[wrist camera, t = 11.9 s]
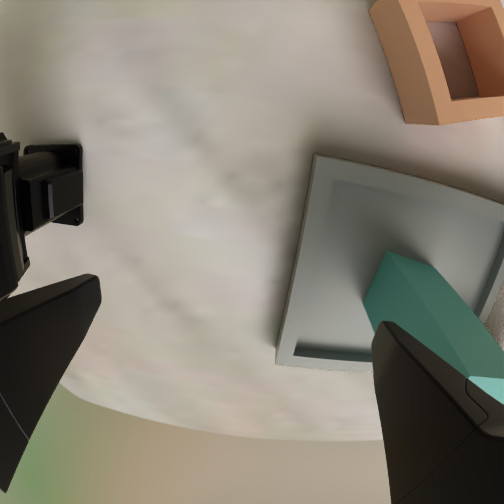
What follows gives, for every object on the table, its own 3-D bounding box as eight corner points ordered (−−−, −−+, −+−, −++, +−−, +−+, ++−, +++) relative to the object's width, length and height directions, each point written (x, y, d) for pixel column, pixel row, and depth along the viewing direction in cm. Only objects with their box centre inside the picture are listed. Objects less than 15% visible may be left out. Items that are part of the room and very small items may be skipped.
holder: (405, 123, 18) (439, 125, 13) (368, 11, 15) (390, -16, 10) (493, 110, 16) (533, 113, 12) (461, 9, 13) (496, -8, 9)
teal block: (362, 303, 22) (411, 442, 11) (386, 250, 21) (470, 375, 9) (408, 314, 22) (470, 439, 11) (433, 266, 21) (523, 380, 9)
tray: (275, 348, 26) (275, 364, 24) (313, 153, 19) (317, 156, 18) (450, 360, 25) (457, 373, 23) (512, 207, 19) (526, 214, 17)
